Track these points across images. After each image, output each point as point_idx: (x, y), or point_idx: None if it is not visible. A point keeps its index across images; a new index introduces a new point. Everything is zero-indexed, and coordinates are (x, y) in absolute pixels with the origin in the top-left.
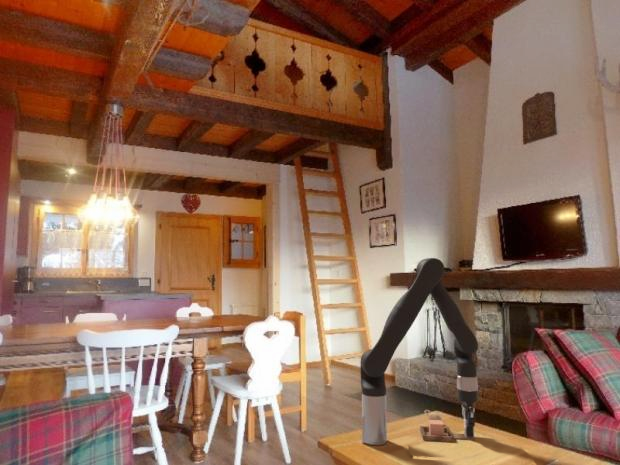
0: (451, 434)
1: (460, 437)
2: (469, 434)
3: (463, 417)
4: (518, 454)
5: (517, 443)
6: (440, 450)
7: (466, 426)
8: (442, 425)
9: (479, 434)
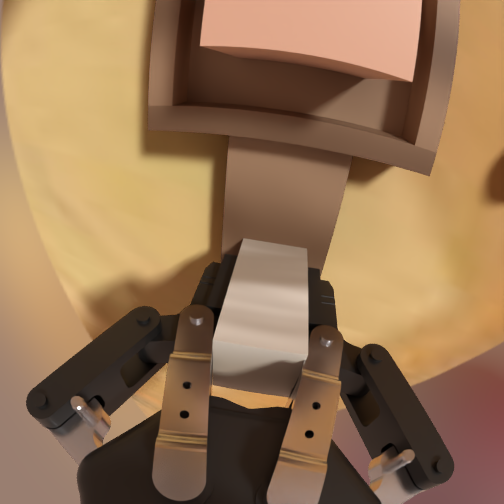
0: (221, 125)
1: (243, 199)
2: (206, 272)
3: (362, 360)
4: None
5: (243, 397)
6: (79, 23)
7: (226, 304)
8: (208, 28)
9: (369, 333)
